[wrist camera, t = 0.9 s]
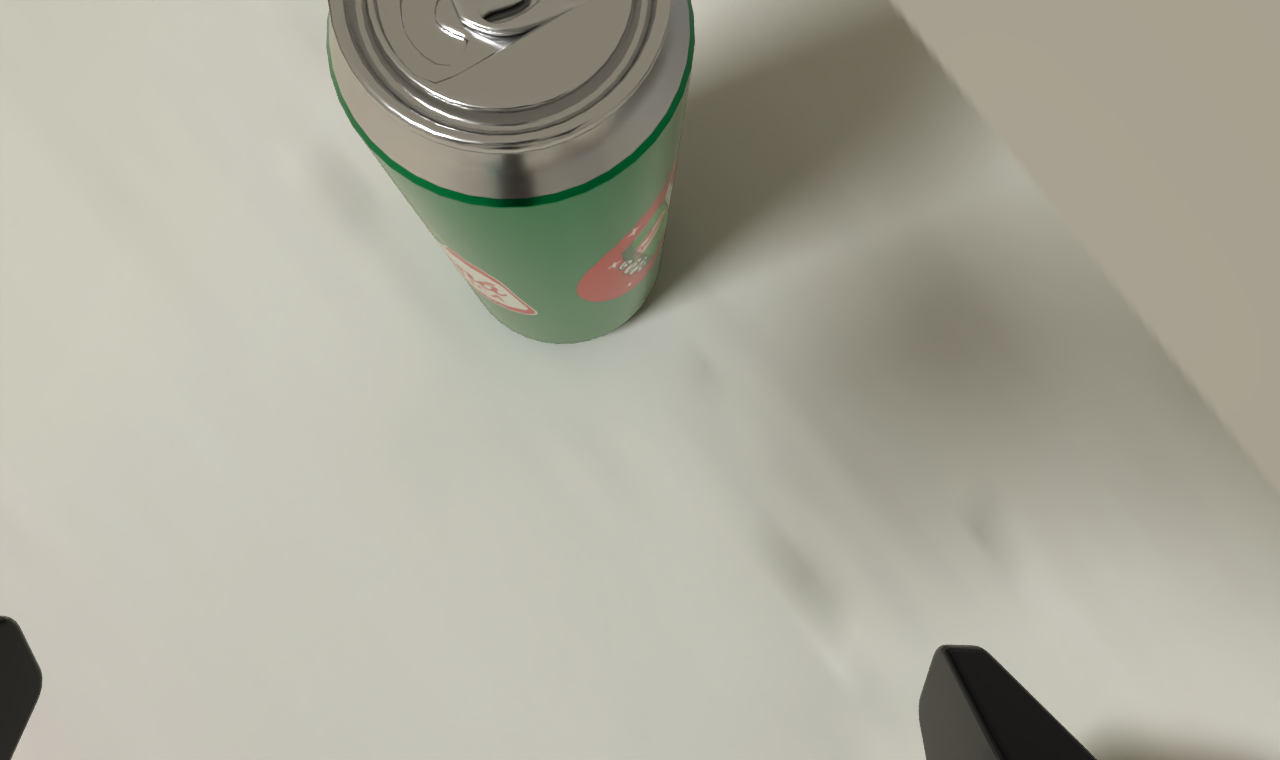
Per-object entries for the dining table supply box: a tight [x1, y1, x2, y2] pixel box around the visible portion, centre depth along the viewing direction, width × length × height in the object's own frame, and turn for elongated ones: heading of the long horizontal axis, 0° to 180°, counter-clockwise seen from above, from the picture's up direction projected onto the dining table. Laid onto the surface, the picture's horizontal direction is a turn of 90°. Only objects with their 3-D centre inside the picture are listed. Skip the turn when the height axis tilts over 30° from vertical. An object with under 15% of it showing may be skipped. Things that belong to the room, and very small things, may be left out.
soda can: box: [327, 0, 695, 344], centre depth 16 cm, size 5×5×12 cm
